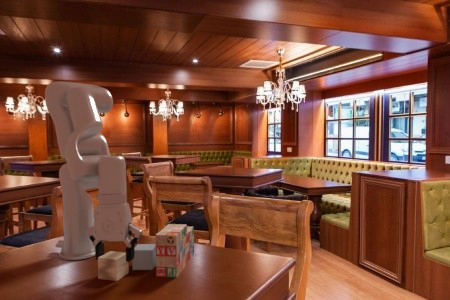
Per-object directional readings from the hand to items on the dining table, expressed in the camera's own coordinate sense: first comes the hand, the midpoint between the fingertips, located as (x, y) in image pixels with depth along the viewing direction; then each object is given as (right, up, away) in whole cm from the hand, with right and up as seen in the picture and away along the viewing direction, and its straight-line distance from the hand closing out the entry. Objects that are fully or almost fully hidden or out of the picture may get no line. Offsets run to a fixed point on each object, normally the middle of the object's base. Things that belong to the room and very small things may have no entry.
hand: (115, 259), depth 98 cm
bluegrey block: (+7, -5, +8) cm, 12 cm away
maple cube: (-1, -5, +1) cm, 5 cm away
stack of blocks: (+16, -5, +10) cm, 20 cm away
